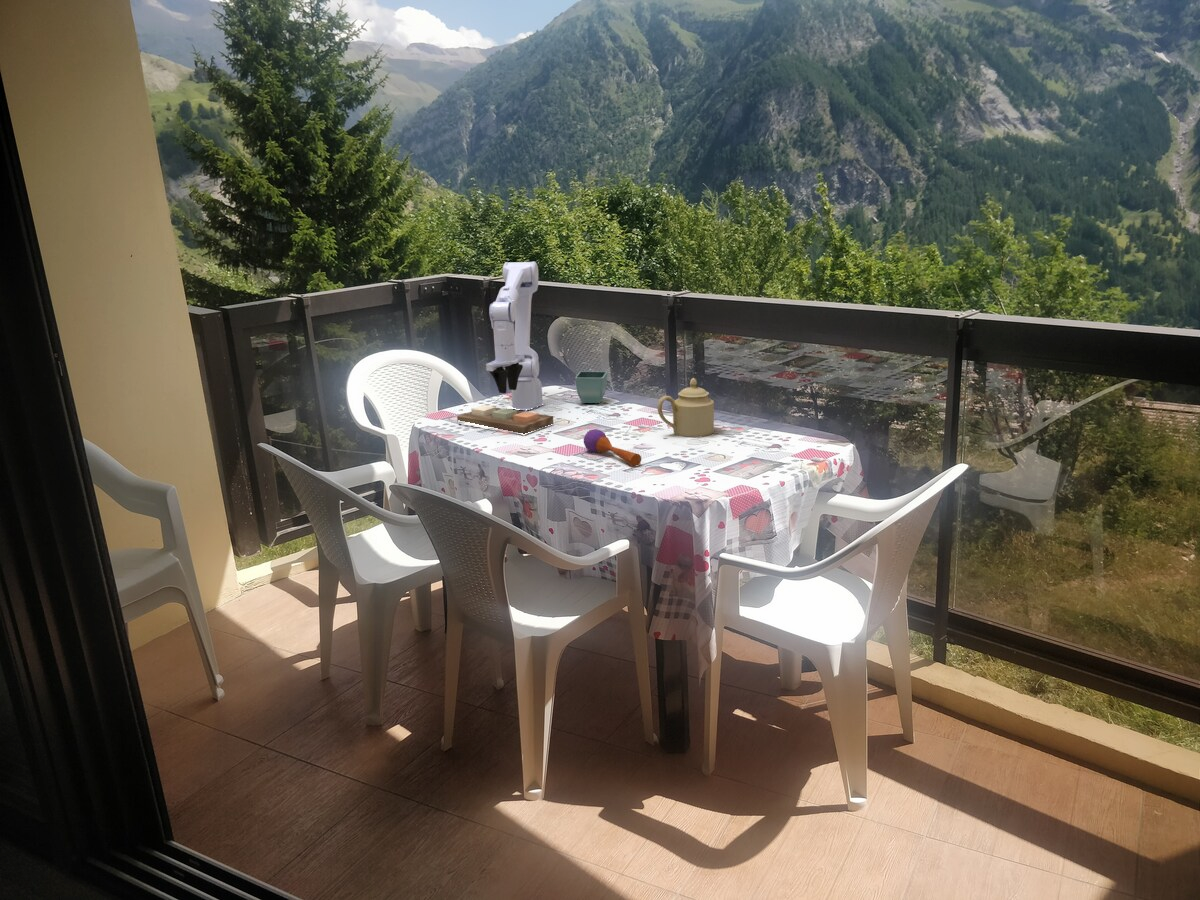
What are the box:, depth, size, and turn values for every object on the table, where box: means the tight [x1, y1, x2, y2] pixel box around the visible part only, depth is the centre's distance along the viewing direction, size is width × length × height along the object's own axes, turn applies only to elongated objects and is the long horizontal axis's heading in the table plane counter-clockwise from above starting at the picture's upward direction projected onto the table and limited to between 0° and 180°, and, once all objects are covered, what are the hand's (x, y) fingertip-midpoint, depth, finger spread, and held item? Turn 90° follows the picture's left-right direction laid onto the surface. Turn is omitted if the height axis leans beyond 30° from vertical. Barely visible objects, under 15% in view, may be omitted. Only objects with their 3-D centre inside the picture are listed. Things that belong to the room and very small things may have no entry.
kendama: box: [583, 428, 642, 467], centre depth 239 cm, size 6×6×20 cm
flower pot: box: [574, 370, 608, 404], centre depth 294 cm, size 9×9×9 cm
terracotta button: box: [513, 411, 539, 423], centre depth 268 cm, size 5×5×2 cm
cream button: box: [470, 404, 497, 416], centre depth 277 cm, size 5×5×2 cm
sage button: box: [492, 407, 518, 420], centre depth 273 cm, size 5×5×2 cm
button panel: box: [456, 407, 554, 434], centre depth 273 cm, size 13×25×2 cm, turn 54°
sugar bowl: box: [656, 377, 715, 438], centre depth 256 cm, size 15×11×15 cm
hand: (507, 391), depth 272 cm, fingers open, 4 cm apart
